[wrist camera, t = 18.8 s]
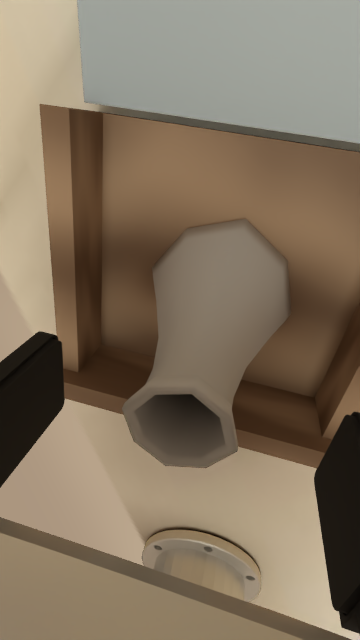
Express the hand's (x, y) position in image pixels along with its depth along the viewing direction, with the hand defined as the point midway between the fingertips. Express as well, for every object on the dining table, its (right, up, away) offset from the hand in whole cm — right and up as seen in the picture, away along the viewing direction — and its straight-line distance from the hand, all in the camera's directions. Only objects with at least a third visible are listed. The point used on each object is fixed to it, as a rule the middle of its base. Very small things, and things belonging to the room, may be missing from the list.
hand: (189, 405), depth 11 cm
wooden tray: (+2, +6, +8) cm, 10 cm away
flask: (+2, +5, +7) cm, 9 cm away
